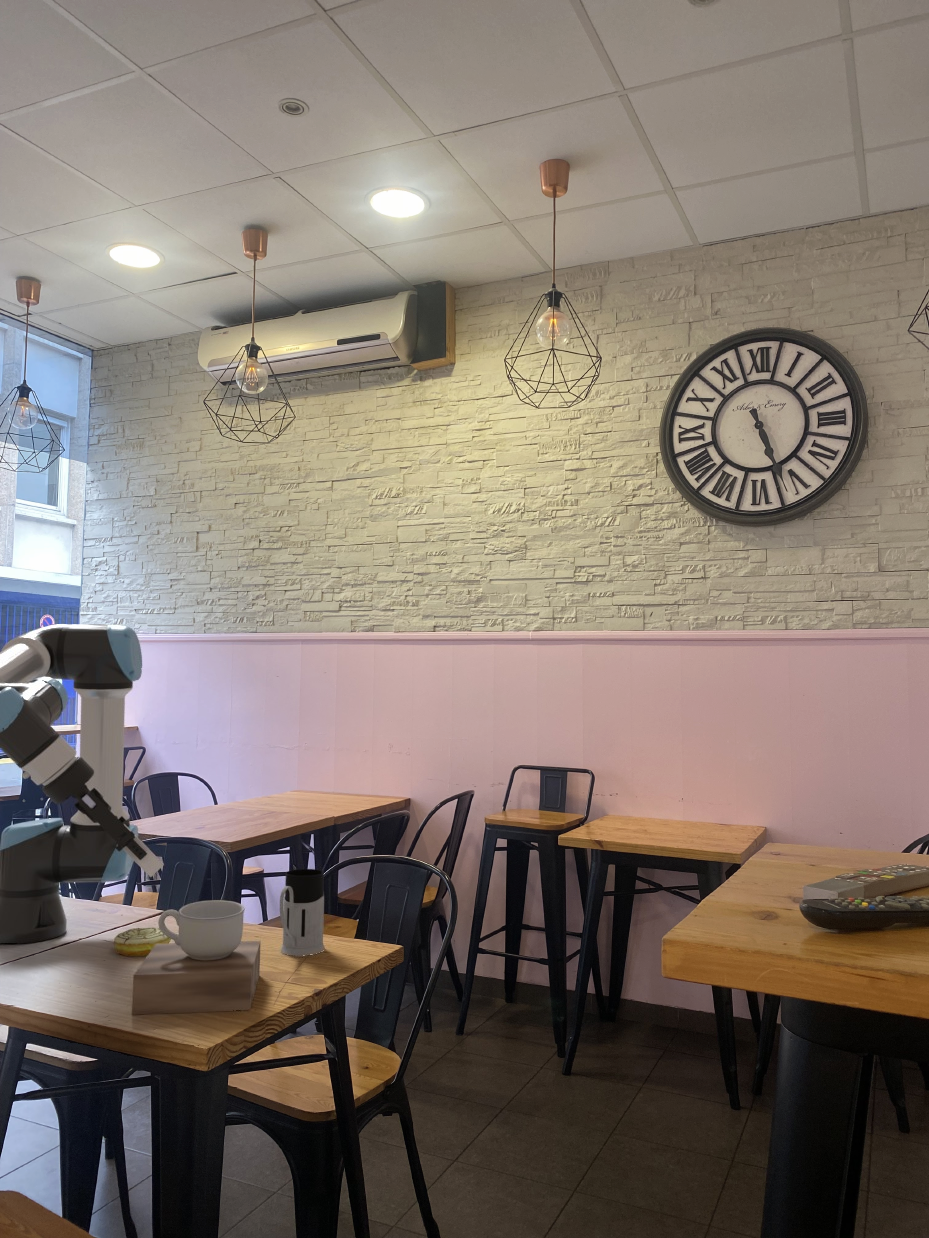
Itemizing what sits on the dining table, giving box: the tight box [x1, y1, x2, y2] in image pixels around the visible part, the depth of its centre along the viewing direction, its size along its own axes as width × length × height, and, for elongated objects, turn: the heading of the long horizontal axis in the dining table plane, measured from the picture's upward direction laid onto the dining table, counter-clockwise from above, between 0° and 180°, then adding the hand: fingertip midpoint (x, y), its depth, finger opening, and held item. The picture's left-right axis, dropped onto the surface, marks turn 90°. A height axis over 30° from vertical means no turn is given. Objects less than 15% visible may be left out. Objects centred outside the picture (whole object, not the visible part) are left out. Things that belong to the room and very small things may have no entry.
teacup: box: [157, 899, 246, 961], centre depth 149 cm, size 14×11×8 cm
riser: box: [131, 940, 261, 1016], centre depth 147 cm, size 18×18×6 cm
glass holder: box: [279, 868, 326, 957], centre depth 172 cm, size 9×14×15 cm, turn 164°
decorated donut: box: [113, 927, 172, 957], centre depth 173 cm, size 10×11×4 cm
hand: (150, 863), depth 146 cm, fingers open, 13 cm apart
